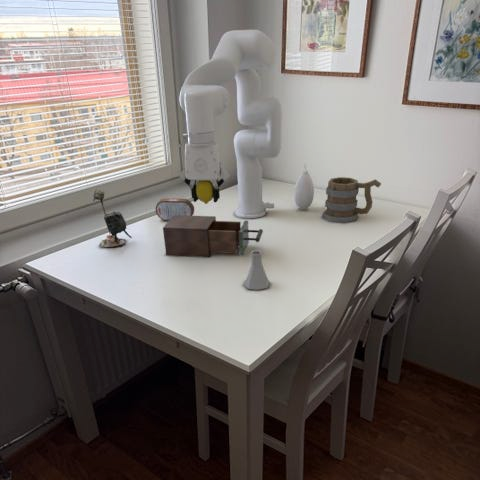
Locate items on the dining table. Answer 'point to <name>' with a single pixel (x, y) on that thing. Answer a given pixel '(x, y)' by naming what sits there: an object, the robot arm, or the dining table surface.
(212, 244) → the drawer
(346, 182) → the tankard
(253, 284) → the flask
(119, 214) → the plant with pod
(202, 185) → the lemon
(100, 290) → the dining table surface
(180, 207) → the tin
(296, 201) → the air blower bulb
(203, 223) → the cabinet
